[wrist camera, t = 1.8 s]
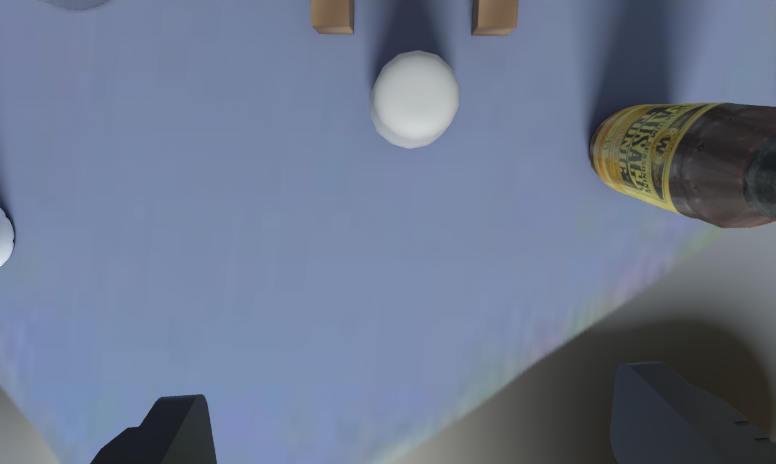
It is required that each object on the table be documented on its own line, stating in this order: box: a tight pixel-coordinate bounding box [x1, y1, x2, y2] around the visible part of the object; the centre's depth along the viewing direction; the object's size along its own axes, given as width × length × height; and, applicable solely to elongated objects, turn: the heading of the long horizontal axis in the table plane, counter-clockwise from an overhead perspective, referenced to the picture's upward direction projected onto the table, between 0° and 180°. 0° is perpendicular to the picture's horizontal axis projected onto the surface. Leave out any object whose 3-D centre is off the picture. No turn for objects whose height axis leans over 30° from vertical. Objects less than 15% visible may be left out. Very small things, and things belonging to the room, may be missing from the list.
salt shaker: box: [370, 50, 460, 149], centre depth 29 cm, size 6×6×13 cm
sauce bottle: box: [590, 103, 776, 228], centre depth 26 cm, size 6×6×20 cm
